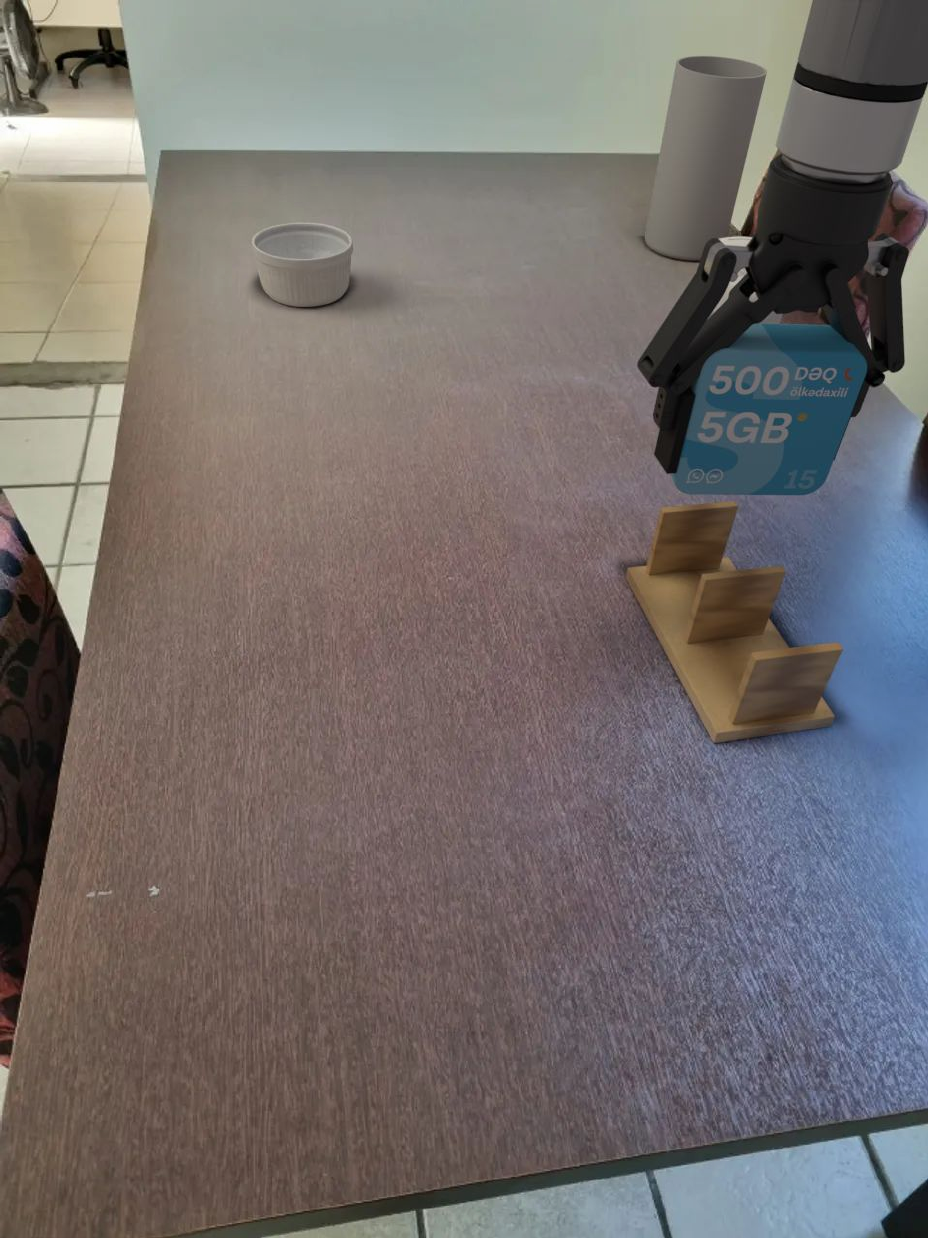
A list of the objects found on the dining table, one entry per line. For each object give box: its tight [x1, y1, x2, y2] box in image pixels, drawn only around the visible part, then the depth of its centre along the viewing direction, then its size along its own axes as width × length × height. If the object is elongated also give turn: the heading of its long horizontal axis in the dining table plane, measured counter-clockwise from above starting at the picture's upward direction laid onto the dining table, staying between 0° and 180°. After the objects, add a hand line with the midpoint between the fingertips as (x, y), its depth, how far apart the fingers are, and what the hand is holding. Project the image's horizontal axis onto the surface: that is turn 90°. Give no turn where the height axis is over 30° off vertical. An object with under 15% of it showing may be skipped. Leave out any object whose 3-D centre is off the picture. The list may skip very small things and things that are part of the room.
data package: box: [669, 323, 867, 496], centre depth 70 cm, size 12×4×12 cm, turn 94°
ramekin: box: [251, 222, 354, 308], centre depth 126 cm, size 13×13×7 cm
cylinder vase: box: [644, 55, 768, 262], centre depth 139 cm, size 12×12×25 cm
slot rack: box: [625, 500, 844, 744], centre depth 77 cm, size 10×20×8 cm, turn 12°
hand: (744, 457), depth 73 cm, fingers closed on data package, 12 cm apart
